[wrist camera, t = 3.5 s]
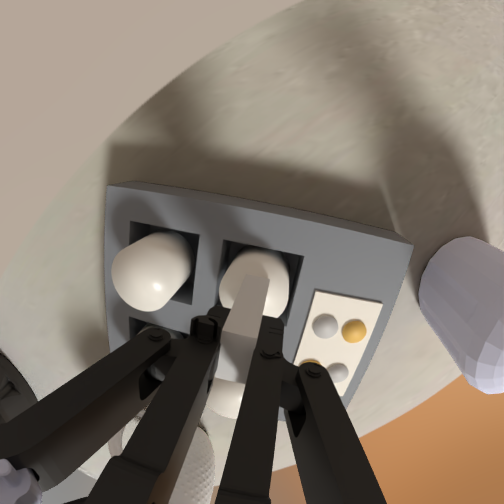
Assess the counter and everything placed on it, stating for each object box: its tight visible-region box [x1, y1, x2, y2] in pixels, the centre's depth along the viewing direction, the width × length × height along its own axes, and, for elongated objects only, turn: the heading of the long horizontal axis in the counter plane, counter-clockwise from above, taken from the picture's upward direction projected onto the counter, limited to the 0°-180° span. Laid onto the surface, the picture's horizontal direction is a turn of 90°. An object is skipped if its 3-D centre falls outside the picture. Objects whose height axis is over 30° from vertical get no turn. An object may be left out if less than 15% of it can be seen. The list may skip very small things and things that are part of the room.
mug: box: [108, 410, 215, 504], centre depth 25 cm, size 15×11×13 cm
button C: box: [206, 373, 245, 419], centre depth 22 cm, size 4×4×4 cm
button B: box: [111, 229, 195, 311], centre depth 20 cm, size 4×4×4 cm
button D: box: [219, 245, 289, 318], centre depth 21 cm, size 4×4×4 cm
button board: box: [104, 181, 414, 421], centre depth 23 cm, size 22×18×4 cm
